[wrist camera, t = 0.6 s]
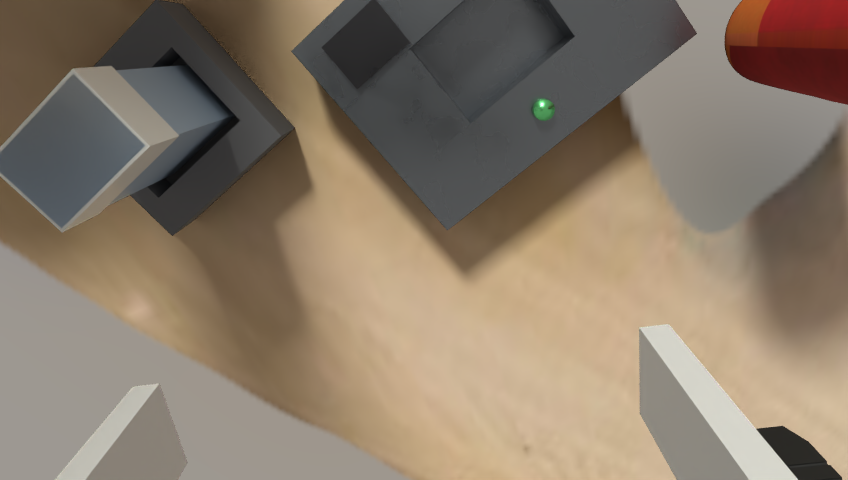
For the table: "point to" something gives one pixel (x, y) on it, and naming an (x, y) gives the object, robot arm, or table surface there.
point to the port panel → (481, 80)
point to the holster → (254, 113)
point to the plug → (108, 138)
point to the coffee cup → (792, 45)
